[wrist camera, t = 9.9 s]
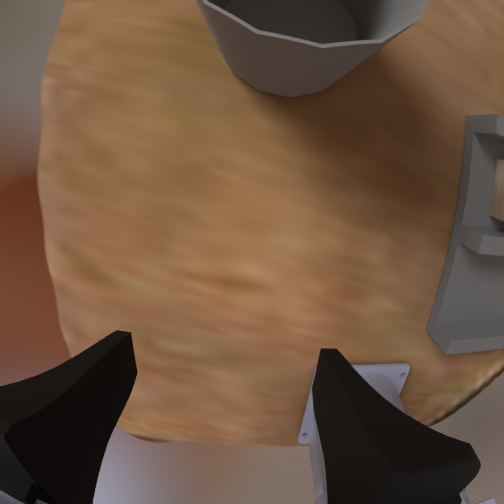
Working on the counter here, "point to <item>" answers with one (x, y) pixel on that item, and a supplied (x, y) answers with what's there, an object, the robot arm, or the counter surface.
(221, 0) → the cup
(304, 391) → the counter surface
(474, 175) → the gray i-beam stand
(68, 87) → the counter surface
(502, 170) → the peg
